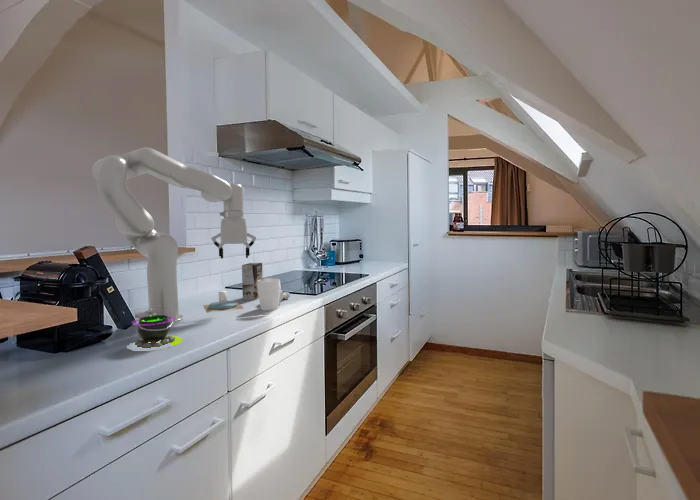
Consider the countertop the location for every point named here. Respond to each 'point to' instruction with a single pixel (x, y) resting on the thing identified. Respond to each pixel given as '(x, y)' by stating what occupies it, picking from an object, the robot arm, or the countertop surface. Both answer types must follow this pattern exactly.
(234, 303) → the lid
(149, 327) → the toy cauldron
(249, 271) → the coffee box
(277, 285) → the cup
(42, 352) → the countertop surface
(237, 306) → the board
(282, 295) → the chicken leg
